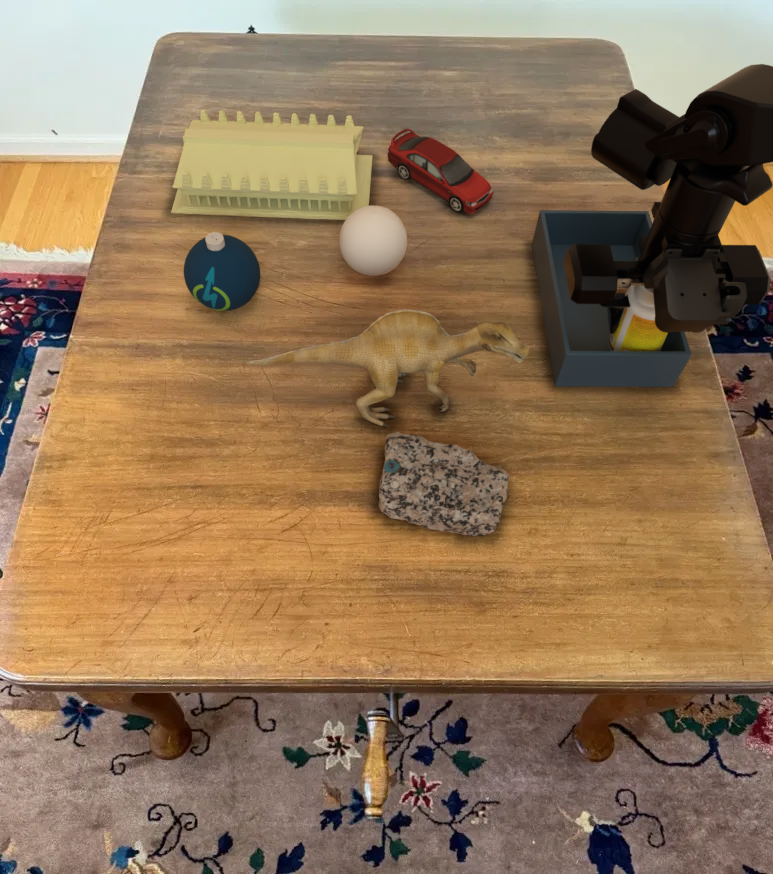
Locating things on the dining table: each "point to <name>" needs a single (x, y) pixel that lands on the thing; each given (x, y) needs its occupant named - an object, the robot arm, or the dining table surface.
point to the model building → (272, 168)
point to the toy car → (439, 171)
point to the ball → (373, 240)
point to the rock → (440, 486)
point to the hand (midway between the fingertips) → (638, 330)
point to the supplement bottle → (638, 324)
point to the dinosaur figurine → (405, 354)
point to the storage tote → (595, 305)
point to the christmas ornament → (222, 272)
